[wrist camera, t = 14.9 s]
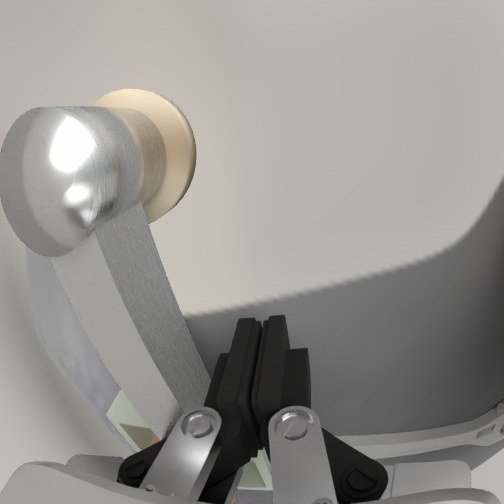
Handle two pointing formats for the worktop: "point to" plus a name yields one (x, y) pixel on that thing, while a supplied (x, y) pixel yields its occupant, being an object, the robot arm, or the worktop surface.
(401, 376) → the worktop surface
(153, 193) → the crank
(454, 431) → the adjustable wrench
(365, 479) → the robot arm
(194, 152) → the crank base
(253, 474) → the tray
